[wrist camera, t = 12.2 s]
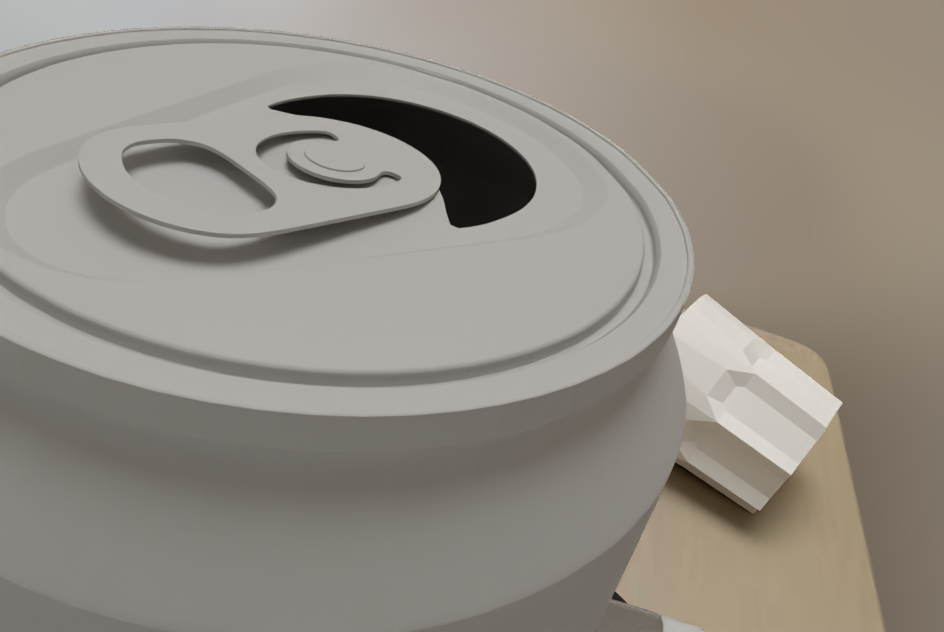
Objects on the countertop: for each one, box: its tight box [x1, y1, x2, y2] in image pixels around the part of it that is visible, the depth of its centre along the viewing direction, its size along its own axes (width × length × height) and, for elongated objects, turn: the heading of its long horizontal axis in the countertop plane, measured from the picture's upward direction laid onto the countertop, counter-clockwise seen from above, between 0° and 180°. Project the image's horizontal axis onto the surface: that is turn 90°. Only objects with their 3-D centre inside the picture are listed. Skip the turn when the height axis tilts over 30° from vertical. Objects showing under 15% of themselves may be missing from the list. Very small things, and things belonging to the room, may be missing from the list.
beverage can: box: [0, 27, 695, 632], centre depth 9 cm, size 6×6×12 cm
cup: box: [673, 294, 842, 514], centre depth 50 cm, size 10×10×10 cm
